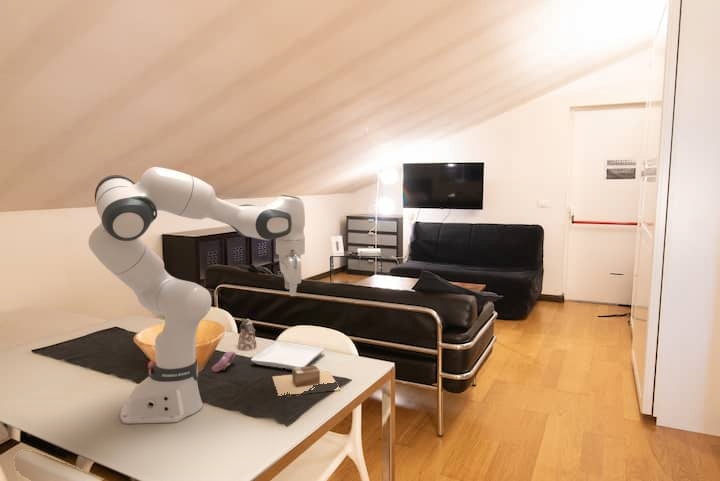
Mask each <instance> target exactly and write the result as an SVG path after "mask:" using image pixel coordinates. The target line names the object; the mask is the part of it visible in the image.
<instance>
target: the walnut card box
mask: <svg viewBox="0 0 720 481" xmlns="http://www.w3.org/2000/svg"><path fill="white" fill-rule="evenodd" d="M291 371H292V374H291V375H292V382H293V383H294V385H295V386H296V387H301V386H308V385H315V384H320V372H321V371H320V369H319V368H318V367H317V366H316V365H310V366H309V365H307V366H306V367H301V368H300V367H297V368H293V369H292V370H291Z"/></svg>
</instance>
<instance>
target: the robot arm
mask: <svg viewBox="0 0 720 481" xmlns="http://www.w3.org/2000/svg"><path fill="white" fill-rule="evenodd" d="M216 195H217V194H216V192H215V189H214V187H213V186H212V185H211V184H209V183H207V182H205V181H204V180H202V179H200V178H198V177H195V176H194V175H191V174H188V173H185V172H181V171H178V170H174V169H171V168H166V167H160V166H153V167H149V168H148V169H146V170H145V171H144V172H143V173H142V175H141V176H140V178H139V180H138V181H137V182H136V183H135V182H134V181H133V180H131V179H130V178H129V177H126V176H124V175H121V174H120V175H119V174H111V175H108V176H106V177H104V178H103V179H101V180H100V181H99V182H98V184H97V185H96V187H95V191H94V201H95V206H96V211H97V214H98V216H99V218H100V221H101V222H100V224H99V225H98V226H97V227H95V228H94V229H93V230H92V232H91V233H90V235H89V238H88V242H87V243H88V247H89V249H90V251H91V252H92V253H93V255H94V256H95V257H96V258H97V260H98V261H99V262H100V263H101V264H102V266H104V267H105V268H106V269H107V270H109V271H110V272H111V273H112V274H113V275H114V276H115V277H116V278H118V279H119V280H120V281H121V282H122V283H124V284H125V285H126V286H127V287H129V288H130V289H131V290H132V291H133V293H134V294H135V295H136V297H137V300H138V302H139V304H140V305H141V306H142V307H143V308H145V309H146V310H148V311H149V312H152V313H154V314H158V315H161V316H163V317H164V319H165V320H164V325H163V329H162V331H161V332H159V333H158V334H157V335H156V337H155V341H154V343H155V344H154V346H155V360H150V361H149V362H148V364H147V367H148V376H147V377H146V378H145V379H144V380H142V381H141V382H140V383H139V384H137V385H136V386H134V388H133V389H132V391H131V392H130V395H129V399H128V402H126V403H125V404H124V405H123V407H122V408H121V409H120V415H119V418H120V421H121V422H122V423H123V424H128V425H129V424H130V425H131V424H158V423H159V424H161V423H163V424H164V423H179V422H181V421H183V419H185V418H187V417H188V416H191V415H193V414H196V413H197V412H198V411H200V410H201V409H202V407H203V404H204V403H203V401H202V398H201V394H200V390H199V385H198V384H199V383H198V378H199V364H198V359H197V358H196V345H197V344H196V338H197V337H196V336H197V331H198V328H199V325H200V322H201V321H202V320H203V319H204V318H205V317H206V316H208V314H209V313H210V311H211V307H212V302H213V301H212V299H213V298H212V295H211V293H210V292H209V290H208V289H207V288H205V287H203V286H202V285H200V284H198V283H196V282H192V281H188V280H183V279H179V278H176V277H175V276H172V275H171V274H170V273H169V272H168V271H167V270H166V268H165V262H164V261H163V258H162V257H160V256H159V255H158V254H157V253H156V252H155V251H154V250H153V249H152V248H150V246H148V244H146V243H145V242H144V241H143V240H142V238H141V237H142V236H143V235H144V234H145V233H146V231H148V229H149V228H150V226H151V224H152V223H153V222H154V221H155V220H156V218H158V211H163V212H167V213H170V214H173V215H176V216H178V217H182V218H186V219H187V218H188V219H194V220H204V219H207V218H208V219H211V220H214V221H217V222H220V223H223V224H225V225H228V226H230V227H231V228H232V229H233V230H235V232H237V233H238V234H239V235H240V236H242V237H245V238H254V239H258V240H263V241H273V240H275V255H277V256H278V262H279V269H280V272H281V273H282V275H283V278H284V288H285V290H289V296H290V297H296V296H297V288H298V284H301V283H302V261H301V259H302V258H301V256H302V255H305V253H306V252H305V251H306V250H305V249H306V247H305V246H306V245H305V244H306V242H305V241H306V238H305V234H304V229H305V227H306V226H305V225H306V219H305V218H306V217H305V216H306V213H305V205H304V202H303V200H302V199H301V198H300V197H296V196H292V195H285V194H281V195H278V196H277V198H276V199H274V200H273V201H272V202H271V203H268V204H266V205H264V206H259V205H253V204H241V205H237V204H234V203H231V202H229V201H226V200H224V199H221V198H219V197H217V196H216Z"/></svg>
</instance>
